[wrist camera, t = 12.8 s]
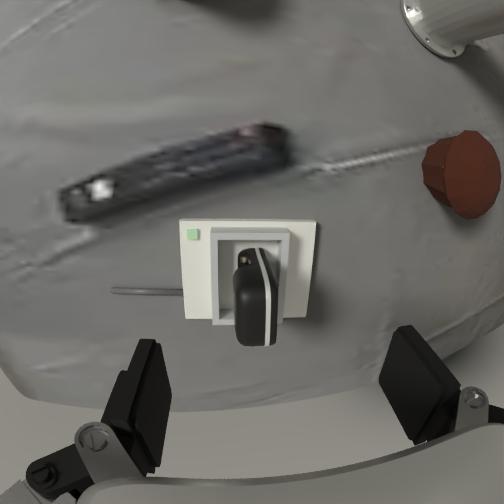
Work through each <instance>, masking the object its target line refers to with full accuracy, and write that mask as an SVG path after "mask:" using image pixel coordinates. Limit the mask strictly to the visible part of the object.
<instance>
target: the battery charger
mask: <svg viewBox="0 0 504 504" xmlns="http://www.w3.org/2000/svg"><path fill="white" fill-rule="evenodd" d="M233 308H234V323H235V330H236V336H237V339H238V341H239V343H241V344H242V345H244V346H269V345H273V344H275V342H276V336H277V317H278V290H277V284H276V281H275V278H274V275H273V272H272V269H271V267H270V264H269V262H268V260H267V257H266V254H265V251H264V249H263V248H258V247H255V248H247V249H244V250H242V251H240V252H239V254H238V268H237V270H236V271H235V273H234V275H233Z"/></svg>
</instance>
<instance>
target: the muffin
mask: <svg viewBox="0 0 504 504" xmlns="http://www.w3.org/2000/svg"><path fill="white" fill-rule="evenodd" d="M422 169H423V177H424V184H425V185H426V186H427V188H428V189H429V190H430V192H431V194H432V195H433V197H435V198H437V199H438V200H440V201H442V202H443V203H445V204H447V205H448V206H450V207H452V208H453V209H454V211H455V213H457V214H458V215H460V216H461V217H463V218H465V219H466V220H467V219H472V218H477V217H479V216H481V215H483V214H485V213H486V212H487V211H488V210H489V209H490V208H491V206H492V205H493V204H494V203H495V200H496V198H497V195H498V193H499V190H500V184H501V169H500V162H499V159H498V157H497V154H496V152H495V149H494V148H493V146H492V145H491V144H490V143H489V142H488V141H487V140H486V139H485V138H484V137H483V136H482V135H481V134H479V133H478V132H477V131H468V130H465V131H464V132H462V133H461V134H460V135H458V136H454V137H449V138H445V139H440V140H439V141H437V142H436V143H435V144H433V145H431V146H429V147H428V148H427V151H426V155H425V157H424V160H423V162H422Z"/></svg>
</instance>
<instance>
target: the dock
mask: <svg viewBox="0 0 504 504" xmlns="http://www.w3.org/2000/svg"><path fill="white" fill-rule="evenodd" d="M179 223H180V247H181V265H182V280H183V289H146V288H111V289H110V292H111V293H114V294H142V295H184V306H185V317H186V319H213V325H235V323H234V308H233V275H234V273H235V271H236V270H237V268H238V254H239V252H240V251H242V250H244V249H247V248H255V247H258V248H263V249H264V251H265V254H266V257H267V260H268V262H269V264H270V267H271V269H272V272H273V275H274V278H275V281H276V284H277V290H278V317H277V324H283V318H293V317H306V312H307V305H308V297H309V288H310V280H311V271H312V262H313V252H314V242H315V231H316V222H315V221H314V220H298V219H180V221H179Z"/></svg>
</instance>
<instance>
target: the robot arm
mask: <svg viewBox="0 0 504 504" xmlns="http://www.w3.org/2000/svg"><path fill="white" fill-rule="evenodd" d="M401 8H402V13H403V16H404V18H405V21H406V23H407V25H408V26H409V28H410V30H411V31H412V32H413V34H414V35H415V36H416V38H417V39H418V40H419V41H420V42H421V43H422V44H423V45H424V46H425V47H426V48H428V49H429V50H430V51H432V52H433V53H435V54H437V55H439V56H442V57H445V58H453V57H457V56H459V55H461V54H462V53H463V51H464V50H465V46H466V45H468V44H470V45H471V46H474V45H475V46H476V47H478V48H479V49H481V50H482V51H487V50H488V48H489V46H488V43H487V42H485V41H484V40H482V39H484V38H488V37H492V36H496V35H500V34H504V0H401ZM379 384H380V386H381V388H382V390H383V392H384V393H385V395H386V397H387V399H388V401H389V403H390V404H391V406H392V408H393V410H394V412H395V414H396V416H397V418H398V420H399V421H400V423H401V425H402V427H403V429H404V431H405V433H406V435H407V437H408V439H410V440H412V441H413V443H414V445H417V446H415V447H412V448H409V449H406V450H403V451H400V452H397V453H393V454H390V455H387V456H383V457H380V458H376V459H372V460H369V461H364V462H360V463H356V464H352V465H347V466H343V467H338V468H333V469H328V470H322V471H316V472H309V473H302V474H294V475H286V476H276V477H264V478H247V479H188V478H167V477H146V475H147V473H153V474H154V473H155V467H160V464H161V457H162V452H163V446H164V439H165V433H166V427H167V422H168V416H169V410H170V405H171V399H172V392H171V388H170V384H169V379H168V375H167V371H166V366H165V362H164V357H163V353H162V348H161V344H160V343H156V341H155V339H140V340H139V342H138V345H137V347H136V350H135V352H134V355H133V357H132V360H131V362H130V365H129V367H128V370H127V371H124V370H122V371H120V373H119V375H118V377H117V380H116V382H115V385H114V387H113V390H112V392H111V395H110V398H109V400H108V403H107V406H106V408H105V411H104V414H103V417H102V419H101V422H90V423H86V424H84V425H83V426H81V427H80V428H79V429H78V430H77V432H76V434H75V438H74V441H75V443H74V444H72V445H70V446H68V447H66V448H63V449H61V450H59V451H57V452H54V453H52V454H50V455H48V456H45V457H43V458H40V459H38V460H36V461H34V462H32V463H31V464H30V465H29V466H28V468H27V471H26V479H25V480H24V481H23V482H22V481H21V480H19V481H17V482H16V483H15V484H14V485H12V487H10V488H9V489H8V490H6V491H5V492H4V493H3V494H2V495H0V504H504V409H503V408H499V407H496V406H493V405H489V401H488V397H487V395H486V394H485V392H484V391H482V390H481V389H479V388H477V387H466V388H464V389H463V390H462V391H461V390H460V389H459V388H460V386H461V384H460V383H459V382H458V381H457V379H456V378H455V377H454V375H453V374H452V373H451V372H450V370H449V369H448V368H447V367H446V365H445V364H444V363H443V362H442V361H441V359H440V358H439V357H438V356H437V354H436V353H435V352H434V351H433V350H432V348H431V347H430V346H429V345H428V344H427V342H426V341H425V340H424V339H423V338H422V337H421V335H420V334H419V333H418V332H417V331H416V330H415V328H414V327H413V326H412V325H407V326H400V327H398V328H397V330H396V331H394V333H393V336H392V340H391V343H390V346H389V349H388V352H387V355H386V358H385V361H384V364H383V367H382V370H381V373H380V375H379ZM426 440H427V442H426V443H423V442H425V441H426ZM420 443H423V444H420ZM418 444H420V445H418Z"/></svg>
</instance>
